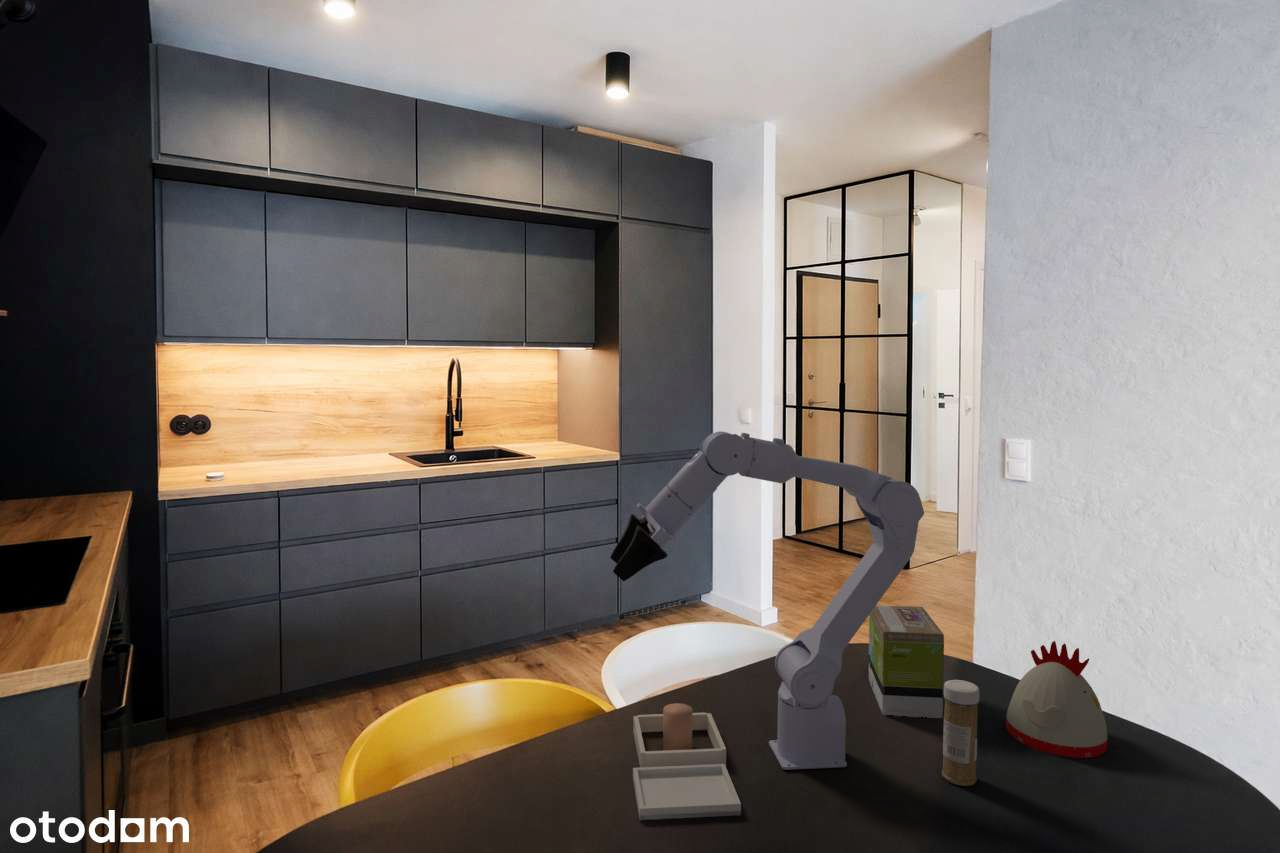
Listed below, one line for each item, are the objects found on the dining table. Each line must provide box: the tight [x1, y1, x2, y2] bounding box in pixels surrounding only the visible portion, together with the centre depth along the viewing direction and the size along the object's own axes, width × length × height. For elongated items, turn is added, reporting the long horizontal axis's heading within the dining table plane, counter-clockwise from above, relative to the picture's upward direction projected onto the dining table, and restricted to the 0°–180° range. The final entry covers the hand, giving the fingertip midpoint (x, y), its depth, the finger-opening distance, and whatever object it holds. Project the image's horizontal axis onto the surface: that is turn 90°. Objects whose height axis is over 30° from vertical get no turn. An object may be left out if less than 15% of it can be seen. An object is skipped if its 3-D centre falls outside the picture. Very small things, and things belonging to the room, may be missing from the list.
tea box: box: [868, 605, 945, 719], centre depth 130 cm, size 15×10×15 cm
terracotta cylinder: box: [662, 702, 694, 751], centre depth 112 cm, size 4×4×6 cm
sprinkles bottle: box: [941, 679, 980, 787], centre depth 104 cm, size 5×5×14 cm
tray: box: [632, 764, 742, 821], centre depth 99 cm, size 13×10×2 cm
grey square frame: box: [632, 712, 727, 768], centre depth 112 cm, size 12×12×2 cm
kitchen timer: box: [1005, 640, 1108, 759], centre depth 117 cm, size 14×14×15 cm
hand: (616, 568), depth 106 cm, fingers open, 7 cm apart
